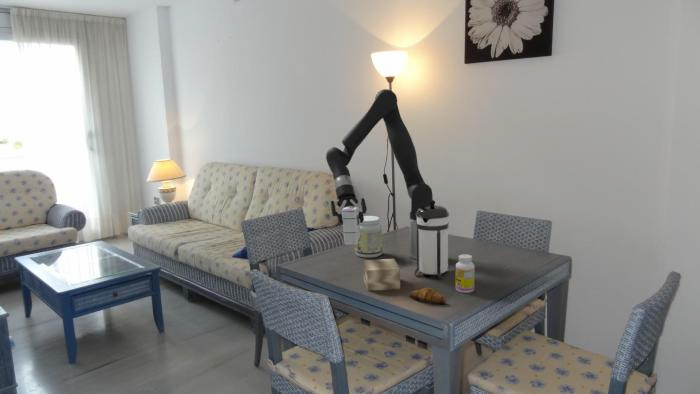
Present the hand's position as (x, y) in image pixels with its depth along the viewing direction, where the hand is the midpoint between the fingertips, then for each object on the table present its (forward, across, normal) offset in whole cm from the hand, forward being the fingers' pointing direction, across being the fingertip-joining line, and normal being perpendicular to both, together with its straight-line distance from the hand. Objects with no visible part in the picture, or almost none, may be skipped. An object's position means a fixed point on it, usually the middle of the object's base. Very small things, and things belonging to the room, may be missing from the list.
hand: (351, 222), depth 198 cm
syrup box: (+5, 0, +7) cm, 9 cm away
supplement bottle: (+35, +35, -4) cm, 50 cm away
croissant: (+39, +18, -8) cm, 44 cm away
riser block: (+25, +8, +6) cm, 26 cm away
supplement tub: (-2, +12, +34) cm, 36 cm away
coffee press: (+21, +31, +11) cm, 39 cm away
